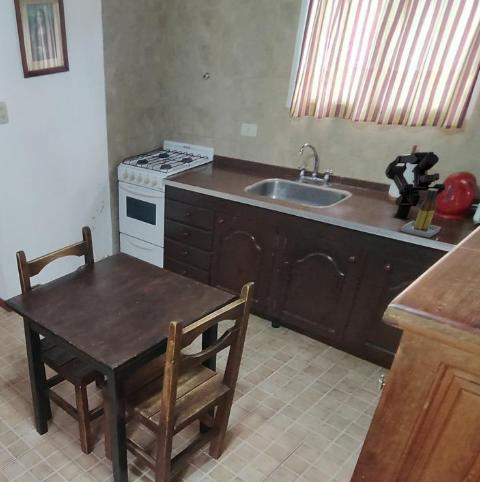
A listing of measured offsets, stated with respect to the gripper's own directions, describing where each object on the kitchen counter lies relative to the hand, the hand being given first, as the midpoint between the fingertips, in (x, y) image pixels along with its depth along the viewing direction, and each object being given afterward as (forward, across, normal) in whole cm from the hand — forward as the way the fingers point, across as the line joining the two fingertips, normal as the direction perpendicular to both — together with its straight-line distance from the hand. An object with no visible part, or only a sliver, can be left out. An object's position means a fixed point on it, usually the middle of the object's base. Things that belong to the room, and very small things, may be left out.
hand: (422, 204), depth 232 cm
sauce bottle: (+12, 0, +4) cm, 12 cm away
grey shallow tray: (+12, 0, +4) cm, 13 cm away
